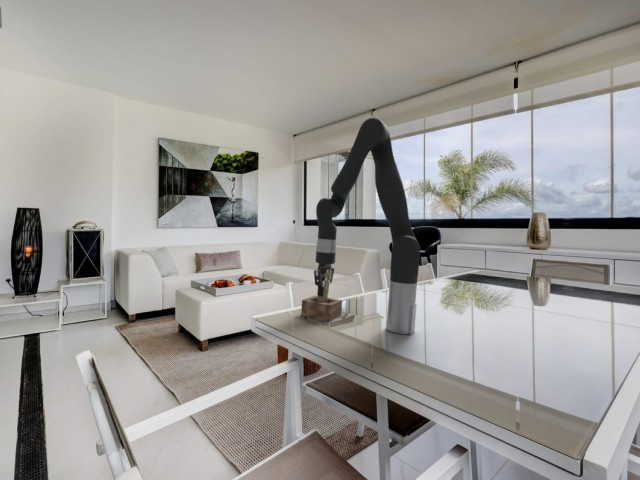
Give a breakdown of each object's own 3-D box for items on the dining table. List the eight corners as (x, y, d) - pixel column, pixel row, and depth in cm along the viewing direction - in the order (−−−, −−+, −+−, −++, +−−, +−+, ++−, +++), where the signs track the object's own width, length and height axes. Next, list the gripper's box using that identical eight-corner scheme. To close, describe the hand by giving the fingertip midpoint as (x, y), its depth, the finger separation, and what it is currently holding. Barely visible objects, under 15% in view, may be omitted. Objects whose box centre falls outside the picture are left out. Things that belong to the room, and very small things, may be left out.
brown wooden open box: (341, 315, 131) (342, 300, 131) (329, 321, 121) (330, 305, 121) (314, 310, 136) (315, 295, 136) (301, 315, 127) (302, 300, 126)
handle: (321, 313, 125) (324, 273, 124) (311, 309, 130) (314, 270, 129) (331, 312, 127) (334, 273, 127) (321, 307, 133) (324, 270, 132)
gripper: (327, 252, 120) (323, 299, 120) (342, 251, 132) (338, 293, 133) (308, 250, 123) (305, 296, 124) (325, 249, 136) (322, 291, 136)
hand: (322, 295), depth 128 cm, fingers closed on handle, 4 cm apart
